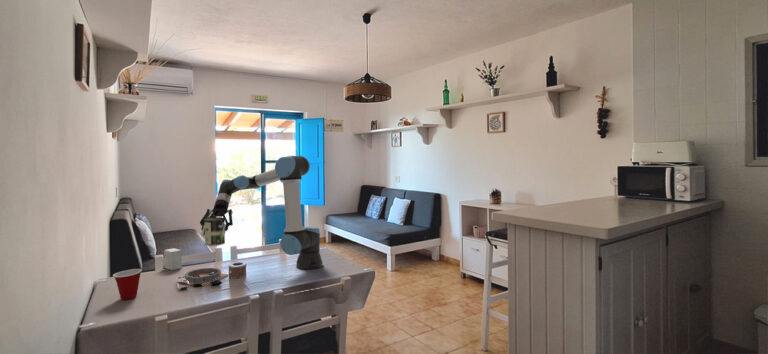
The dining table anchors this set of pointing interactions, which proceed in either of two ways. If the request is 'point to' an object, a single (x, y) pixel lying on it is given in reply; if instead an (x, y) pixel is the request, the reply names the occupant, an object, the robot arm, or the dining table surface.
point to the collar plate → (204, 275)
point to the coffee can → (214, 231)
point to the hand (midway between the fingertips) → (212, 235)
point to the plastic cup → (128, 283)
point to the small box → (173, 259)
